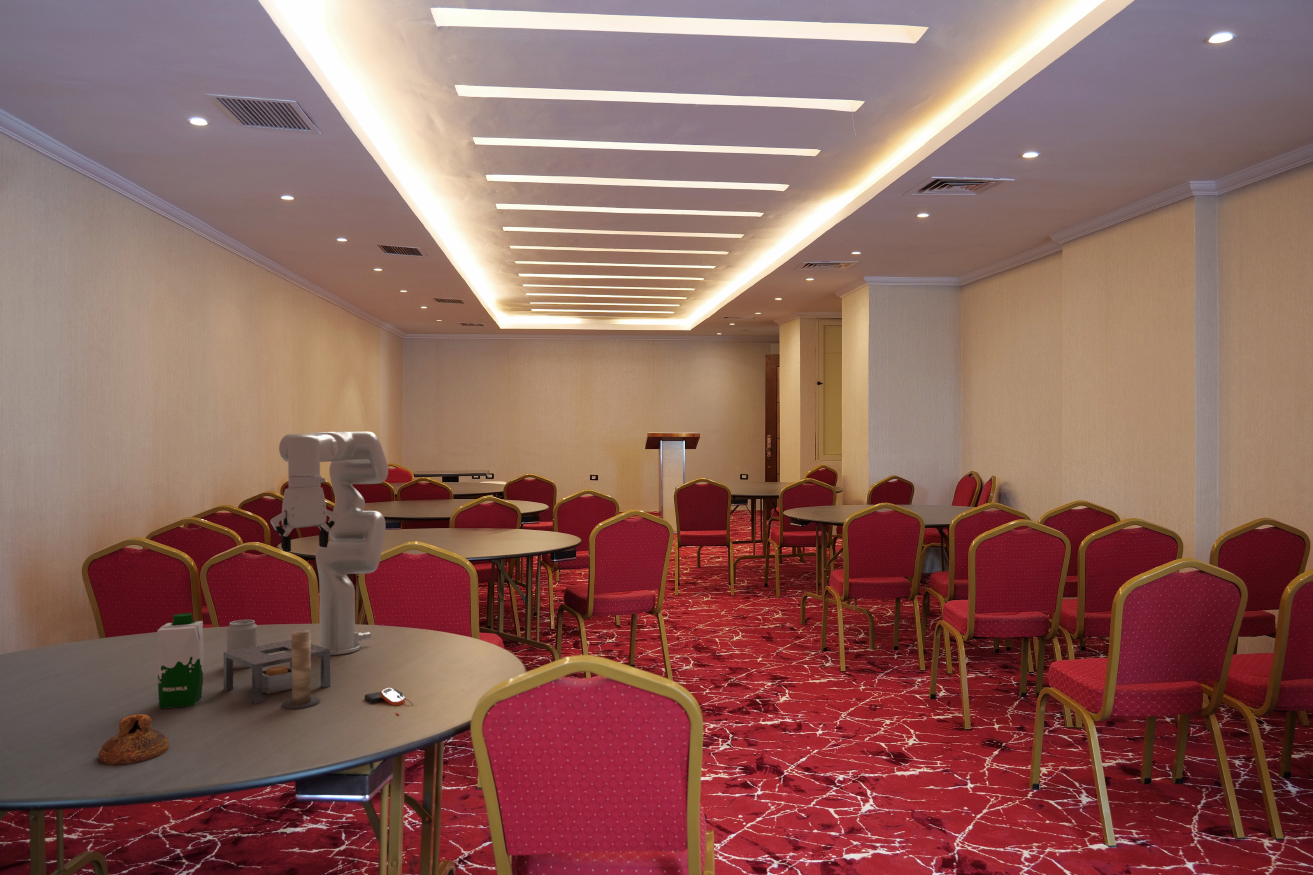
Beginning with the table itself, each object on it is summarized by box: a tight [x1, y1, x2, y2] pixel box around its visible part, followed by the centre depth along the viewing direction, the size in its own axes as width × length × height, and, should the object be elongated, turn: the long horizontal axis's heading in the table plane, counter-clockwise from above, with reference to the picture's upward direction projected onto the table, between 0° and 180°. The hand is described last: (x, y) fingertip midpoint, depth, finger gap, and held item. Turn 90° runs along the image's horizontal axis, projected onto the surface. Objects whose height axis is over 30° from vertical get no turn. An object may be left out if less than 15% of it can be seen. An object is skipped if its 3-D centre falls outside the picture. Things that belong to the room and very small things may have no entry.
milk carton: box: [157, 612, 204, 710], centre depth 192 cm, size 9×9×20 cm
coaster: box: [281, 696, 321, 710], centre depth 191 cm, size 8×8×1 cm
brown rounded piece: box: [97, 713, 170, 766], centre depth 161 cm, size 12×12×7 cm
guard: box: [223, 639, 331, 705], centre depth 204 cm, size 18×18×9 cm
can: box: [226, 619, 259, 670], centre depth 225 cm, size 8×8×12 cm
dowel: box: [291, 629, 312, 704], centre depth 191 cm, size 4×4×16 cm
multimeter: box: [364, 687, 414, 716], centre depth 191 cm, size 18×12×3 cm, turn 35°
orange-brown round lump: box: [265, 665, 289, 676], centre depth 204 cm, size 5×5×4 cm
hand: (305, 549), depth 215 cm, fingers open, 9 cm apart
